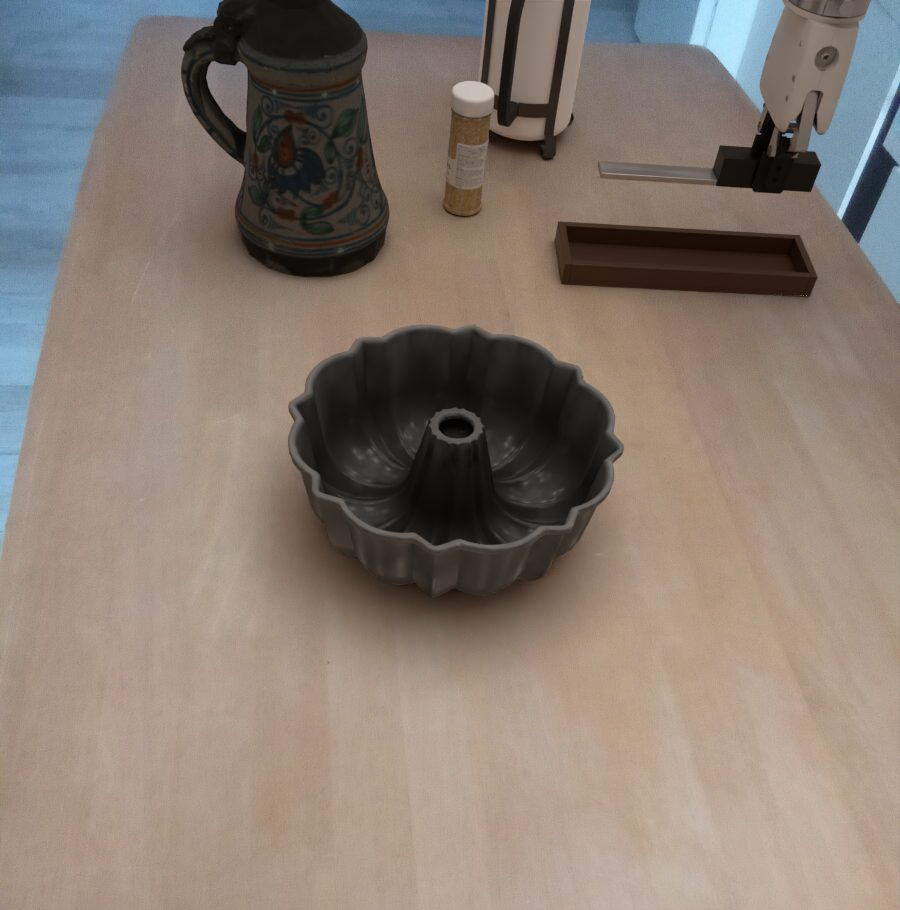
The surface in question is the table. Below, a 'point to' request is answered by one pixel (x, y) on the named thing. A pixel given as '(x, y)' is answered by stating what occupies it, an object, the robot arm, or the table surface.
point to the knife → (718, 170)
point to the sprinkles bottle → (467, 146)
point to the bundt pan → (452, 456)
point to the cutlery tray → (683, 259)
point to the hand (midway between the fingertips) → (763, 180)
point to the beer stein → (295, 132)
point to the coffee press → (533, 66)
